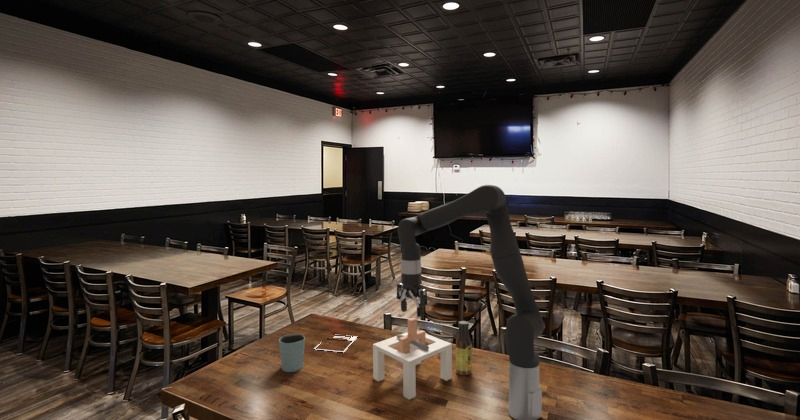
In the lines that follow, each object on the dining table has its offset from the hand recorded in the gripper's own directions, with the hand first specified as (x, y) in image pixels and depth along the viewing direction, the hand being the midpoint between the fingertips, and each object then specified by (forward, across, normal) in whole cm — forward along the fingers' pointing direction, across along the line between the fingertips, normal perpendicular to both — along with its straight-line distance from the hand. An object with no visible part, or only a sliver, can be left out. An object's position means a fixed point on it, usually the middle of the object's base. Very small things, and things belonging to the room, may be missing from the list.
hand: (411, 313), depth 150 cm
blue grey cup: (+25, +40, +29) cm, 55 cm away
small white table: (+25, 0, 0) cm, 25 cm away
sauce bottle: (+25, -10, -18) cm, 33 cm away
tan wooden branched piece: (+19, 0, 0) cm, 19 cm away
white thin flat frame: (+26, +48, +3) cm, 55 cm away
